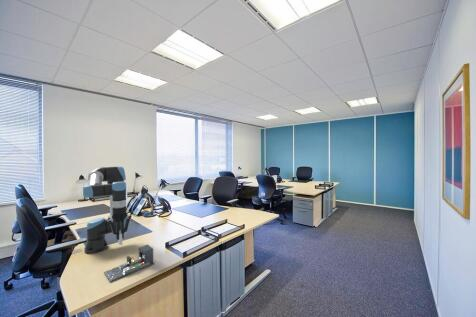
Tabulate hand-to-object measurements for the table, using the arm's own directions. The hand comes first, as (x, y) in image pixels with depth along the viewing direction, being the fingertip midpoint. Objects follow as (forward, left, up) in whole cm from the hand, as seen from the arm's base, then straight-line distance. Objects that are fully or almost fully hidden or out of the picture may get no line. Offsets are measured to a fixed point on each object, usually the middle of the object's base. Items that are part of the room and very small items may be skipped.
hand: (120, 244), depth 124 cm
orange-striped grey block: (0, +11, -16) cm, 19 cm away
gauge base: (0, +5, -18) cm, 18 cm away
